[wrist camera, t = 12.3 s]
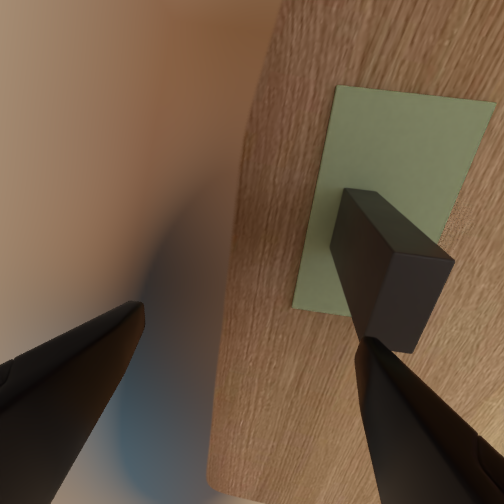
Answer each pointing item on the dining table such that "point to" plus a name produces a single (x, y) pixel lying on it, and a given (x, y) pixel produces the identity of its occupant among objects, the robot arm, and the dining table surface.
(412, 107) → the mat
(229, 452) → the dining table surface
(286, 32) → the dining table surface
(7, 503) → the robot arm
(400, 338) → the dark grey rectangular prism
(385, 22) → the dining table surface
